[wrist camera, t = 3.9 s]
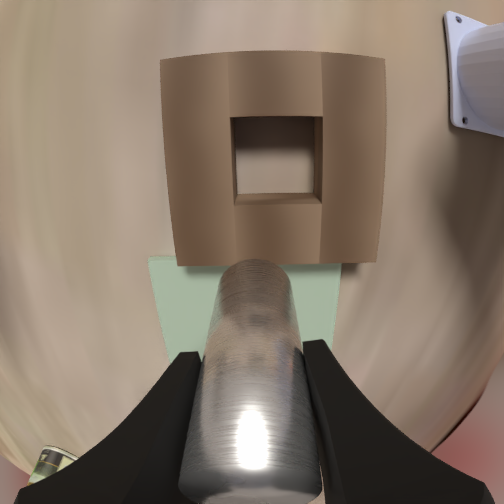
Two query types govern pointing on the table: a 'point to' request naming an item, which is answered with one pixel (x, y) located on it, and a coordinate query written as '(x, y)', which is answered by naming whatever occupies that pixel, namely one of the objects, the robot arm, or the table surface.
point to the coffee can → (50, 463)
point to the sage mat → (204, 293)
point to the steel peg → (252, 398)
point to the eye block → (274, 204)
